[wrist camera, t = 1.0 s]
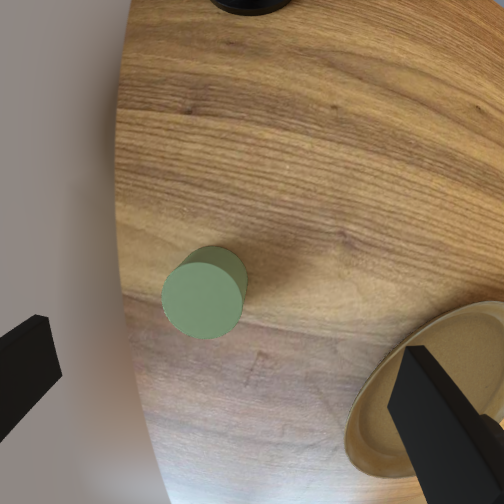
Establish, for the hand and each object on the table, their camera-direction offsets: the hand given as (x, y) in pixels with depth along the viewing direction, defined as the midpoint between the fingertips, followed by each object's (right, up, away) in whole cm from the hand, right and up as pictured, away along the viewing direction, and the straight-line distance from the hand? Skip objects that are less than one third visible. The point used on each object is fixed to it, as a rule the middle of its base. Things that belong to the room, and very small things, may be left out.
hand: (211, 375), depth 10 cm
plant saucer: (+22, -11, +17) cm, 30 cm away
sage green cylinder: (-2, +2, +16) cm, 16 cm away
